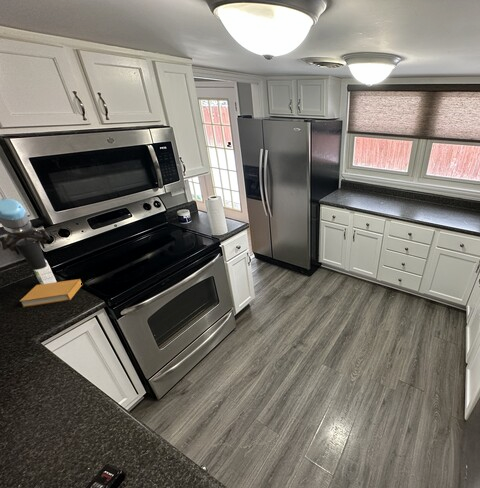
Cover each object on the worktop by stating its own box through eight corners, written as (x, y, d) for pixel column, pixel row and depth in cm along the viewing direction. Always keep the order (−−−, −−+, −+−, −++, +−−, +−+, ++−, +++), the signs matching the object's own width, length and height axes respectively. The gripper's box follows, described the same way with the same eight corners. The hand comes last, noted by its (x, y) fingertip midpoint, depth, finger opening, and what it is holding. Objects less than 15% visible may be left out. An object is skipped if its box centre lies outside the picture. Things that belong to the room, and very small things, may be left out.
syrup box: (40, 285, 141) (28, 261, 134) (55, 280, 145) (44, 257, 139) (43, 289, 138) (31, 265, 131) (58, 284, 142) (47, 260, 136)
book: (23, 307, 125) (19, 301, 123) (39, 290, 137) (36, 284, 135) (70, 299, 131) (67, 293, 129) (82, 284, 142) (80, 279, 141)
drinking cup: (34, 272, 120) (13, 232, 112) (24, 269, 123) (3, 230, 114) (54, 265, 127) (36, 226, 118) (44, 262, 129) (26, 224, 120)
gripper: (-18, 241, 99) (1, 263, 116) (56, 226, 114) (63, 248, 130) (-26, 224, 100) (-6, 249, 116) (48, 212, 115) (57, 235, 131)
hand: (30, 249), depth 123 cm, fingers closed on drinking cup, 8 cm apart
